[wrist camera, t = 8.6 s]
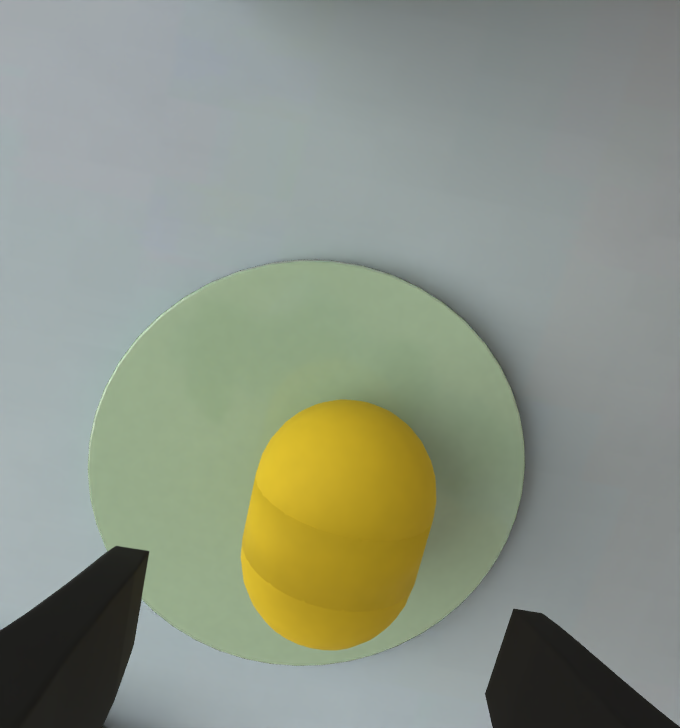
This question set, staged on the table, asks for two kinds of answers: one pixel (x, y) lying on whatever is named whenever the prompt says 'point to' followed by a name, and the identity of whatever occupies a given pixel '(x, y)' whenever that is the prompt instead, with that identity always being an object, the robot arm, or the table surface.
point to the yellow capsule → (337, 524)
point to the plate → (268, 414)
